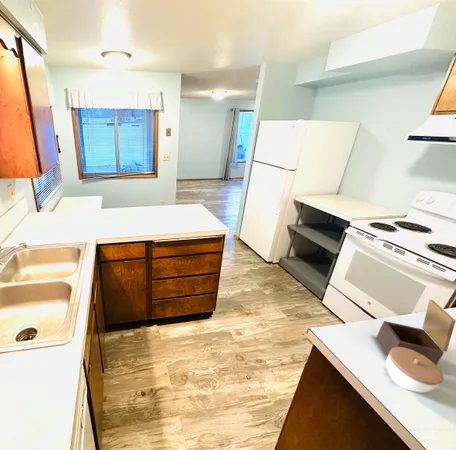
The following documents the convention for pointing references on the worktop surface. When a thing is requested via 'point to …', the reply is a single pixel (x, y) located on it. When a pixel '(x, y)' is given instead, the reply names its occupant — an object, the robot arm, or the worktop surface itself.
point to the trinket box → (413, 370)
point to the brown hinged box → (408, 340)
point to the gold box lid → (438, 325)
